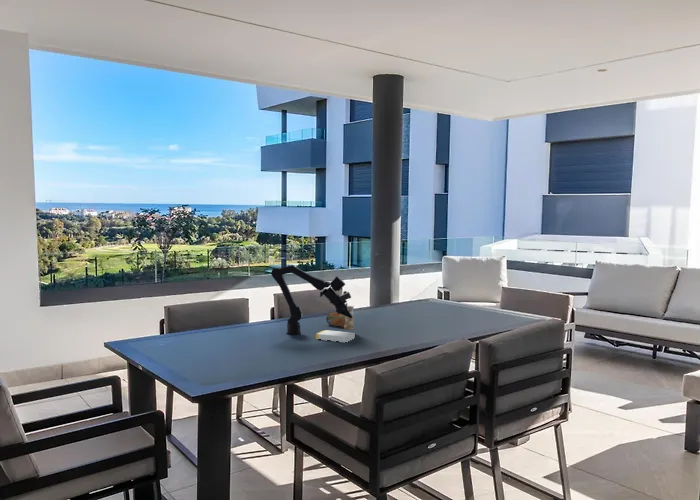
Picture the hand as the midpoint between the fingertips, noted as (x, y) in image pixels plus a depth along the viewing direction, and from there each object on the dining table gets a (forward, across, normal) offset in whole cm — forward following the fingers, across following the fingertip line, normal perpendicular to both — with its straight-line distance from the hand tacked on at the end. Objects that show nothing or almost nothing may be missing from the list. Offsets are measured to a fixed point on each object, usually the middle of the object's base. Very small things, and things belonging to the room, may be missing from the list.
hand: (351, 316), depth 302 cm
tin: (+1, +22, +13) cm, 26 cm away
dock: (+1, -12, +13) cm, 18 cm away
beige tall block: (+4, 0, +6) cm, 7 cm away
